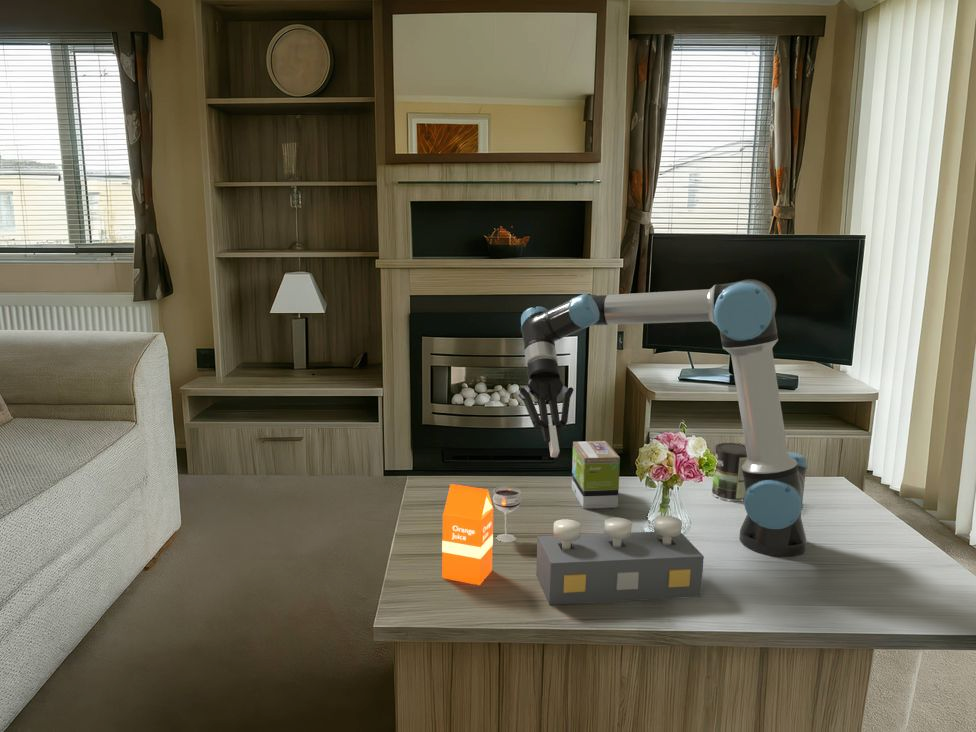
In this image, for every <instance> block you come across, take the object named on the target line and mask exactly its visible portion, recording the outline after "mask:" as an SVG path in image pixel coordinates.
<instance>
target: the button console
mask: <svg viewBox="0 0 976 732" xmlns="http://www.w3.org/2000/svg"><path fill="white" fill-rule="evenodd" d="M536 542H537V543H536V573H535V575H536V577H537V580H538V582H539V585H540V587H541V589H542V591H543V594H544V596H545V599H546V601H547V604H548V605H549V606H552V605H556V606H557V605H572V604H574V605H575V604H589V603H590V604H591V603H593V604H594V603H611V602H612V603H613V602H625V601H626V602H627V601H647V600H650V601H651V600H665V599H683V598H684V599H685V598H701V594H702V581H703V572H704V571H703V570H704V569H703V568H704V560H705V559H704V558H705V557H704V555H703V554H702V553H701V552H700V550H698V549H697V547H695V545H694V544H693V543H692V542H691V541H690V540H689V539H688V538H687V537H686V536H685V535H684V534H683V533H682V532H681V534H680V535H679V536H675V537H672V538H671V545H662V542H663V536H662V535H659V534H657V533H656V532H655V531H641V532H640V531H639V532H635V531H634V532H633V531H631V536H630V537H629V538H625V539H622V543H621V547H613V538H611V537H608V536H607V535H605V533H587V534H586V533H583V534H580V538H579V539H577V540H574V541H571V549H562V540H559V539H557V538H555V537H554V535H539V536H537V541H536Z"/></svg>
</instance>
